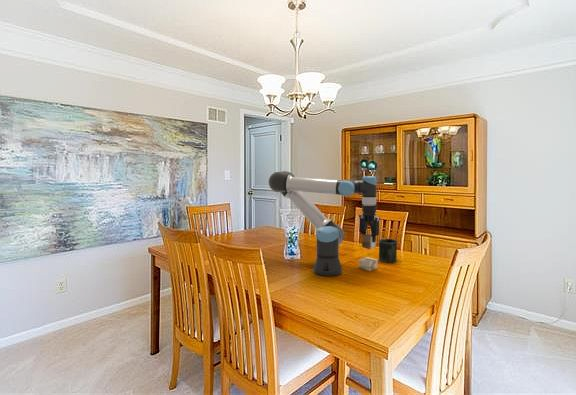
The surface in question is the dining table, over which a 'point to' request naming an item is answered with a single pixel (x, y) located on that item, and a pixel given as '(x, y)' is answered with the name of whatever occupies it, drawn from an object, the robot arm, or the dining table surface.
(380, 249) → the mug
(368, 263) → the pale grey block
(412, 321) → the dining table surface
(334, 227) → the robot arm
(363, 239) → the walnut block
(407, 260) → the dining table surface
